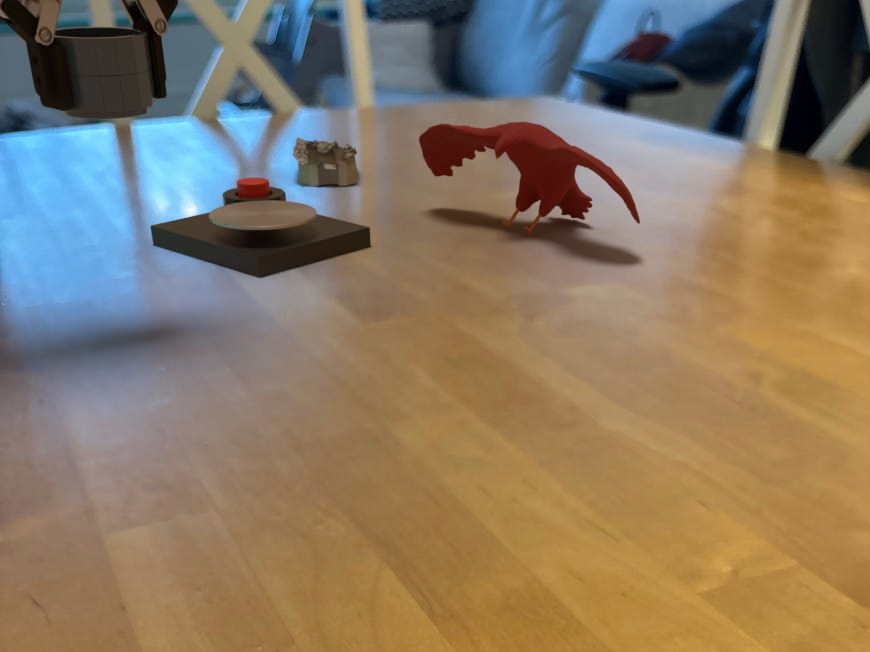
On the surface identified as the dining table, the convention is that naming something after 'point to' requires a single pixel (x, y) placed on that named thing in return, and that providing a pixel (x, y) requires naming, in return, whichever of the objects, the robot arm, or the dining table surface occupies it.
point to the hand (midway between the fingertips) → (105, 99)
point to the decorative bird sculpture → (524, 164)
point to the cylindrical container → (107, 71)
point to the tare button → (253, 187)
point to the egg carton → (325, 163)
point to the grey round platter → (262, 215)
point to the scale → (260, 240)
